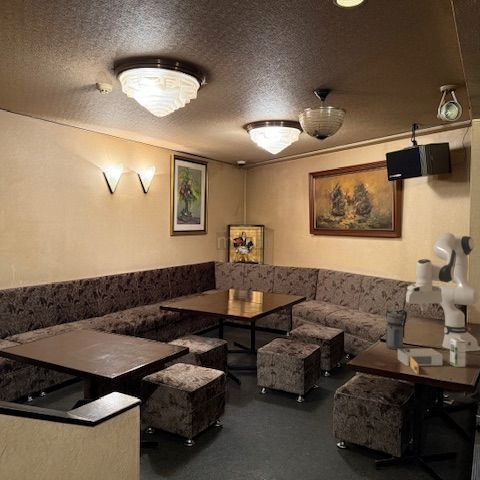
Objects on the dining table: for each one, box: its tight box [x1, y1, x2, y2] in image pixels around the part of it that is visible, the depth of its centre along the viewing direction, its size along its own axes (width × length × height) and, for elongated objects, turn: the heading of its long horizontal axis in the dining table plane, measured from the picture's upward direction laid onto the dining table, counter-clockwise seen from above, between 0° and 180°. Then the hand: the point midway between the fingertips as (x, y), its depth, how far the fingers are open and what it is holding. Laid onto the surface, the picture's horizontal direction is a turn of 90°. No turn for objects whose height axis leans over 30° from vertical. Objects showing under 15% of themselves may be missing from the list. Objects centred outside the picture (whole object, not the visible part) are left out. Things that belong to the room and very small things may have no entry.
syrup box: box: [449, 338, 466, 368], centre depth 225 cm, size 6×6×14 cm
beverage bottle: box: [384, 308, 408, 351], centre depth 258 cm, size 10×13×25 cm
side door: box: [409, 356, 420, 375], centre depth 218 cm, size 13×2×5 cm, turn 172°
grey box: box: [397, 347, 443, 367], centre depth 231 cm, size 20×14×7 cm
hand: (424, 311), depth 237 cm, fingers closed
